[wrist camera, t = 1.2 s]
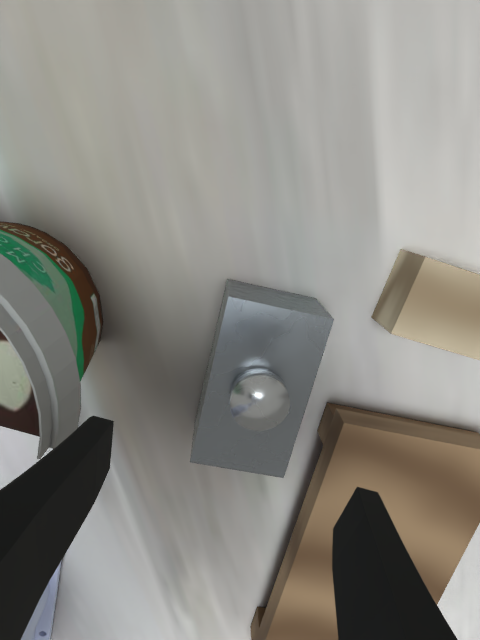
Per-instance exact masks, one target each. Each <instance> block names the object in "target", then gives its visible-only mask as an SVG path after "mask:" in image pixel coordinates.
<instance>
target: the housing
mask: <svg viewBox="0 0 480 640" xmlns="http://www.w3.org/2000/svg"><path fill="white" fill-rule="evenodd" d="M333 320H334V319H333V318H332V316H331V315H330V314H329V313H328V312H327V311H326V310H325V308H324V307H323V306H322V305H321V304H320V303H319V301H318V300H317V299H316V298H312V297H307V296H303V295H298V294H294V293H289V292H285V291H280V290H276V289H271V288H267V287H262V286H258V285H253V284H248V283H244V282H239V281H235V280H230V279H227V283H226V287H225V291H224V296H223V300H222V305H221V309H220V313H219V318H218V322H217V327H216V331H215V335H214V340H213V344H212V349H211V353H210V358H209V362H208V366H207V371H206V375H205V380H204V384H203V388H202V393H201V397H200V402H199V406H198V410H197V415H196V419H195V425H194V434H193V442H192V450H191V459H190V462H192V463H198V464H204V465H210V466H216V467H222V468H228V469H234V470H239V471H245V472H251V473H257V474H263V475H269V476H275V477H281V478H284V475H285V472H286V469H287V465H288V462H289V459H290V456H291V453H292V450H293V447H294V443H295V440H296V437H297V434H298V431H299V428H300V424H301V421H302V418H303V415H304V412H305V409H306V406H307V402H308V399H309V396H310V393H311V390H312V387H313V383H314V380H315V377H316V374H317V371H318V368H319V364H320V361H321V358H322V355H323V352H324V349H325V346H326V342H327V339H328V336H329V333H330V330H331V327H332V323H333Z"/></svg>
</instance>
